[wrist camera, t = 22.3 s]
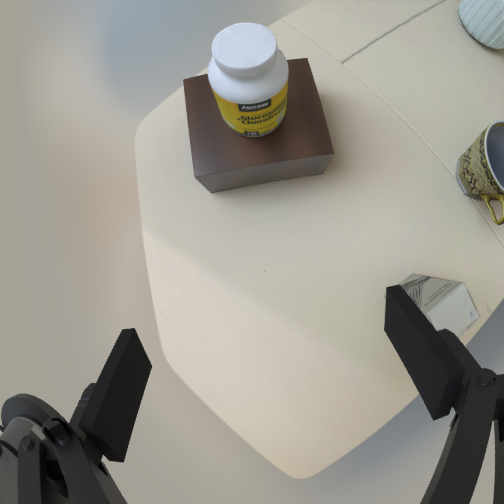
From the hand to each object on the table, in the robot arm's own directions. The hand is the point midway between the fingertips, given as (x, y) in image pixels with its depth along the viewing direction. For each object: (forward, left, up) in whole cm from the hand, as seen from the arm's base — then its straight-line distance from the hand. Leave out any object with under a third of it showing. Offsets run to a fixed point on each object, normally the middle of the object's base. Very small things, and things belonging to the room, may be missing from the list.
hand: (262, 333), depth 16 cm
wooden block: (+2, +19, -22) cm, 29 cm away
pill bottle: (+2, +19, -15) cm, 24 cm away
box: (+17, -4, -23) cm, 29 cm away
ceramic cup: (+31, +9, -23) cm, 39 cm away
